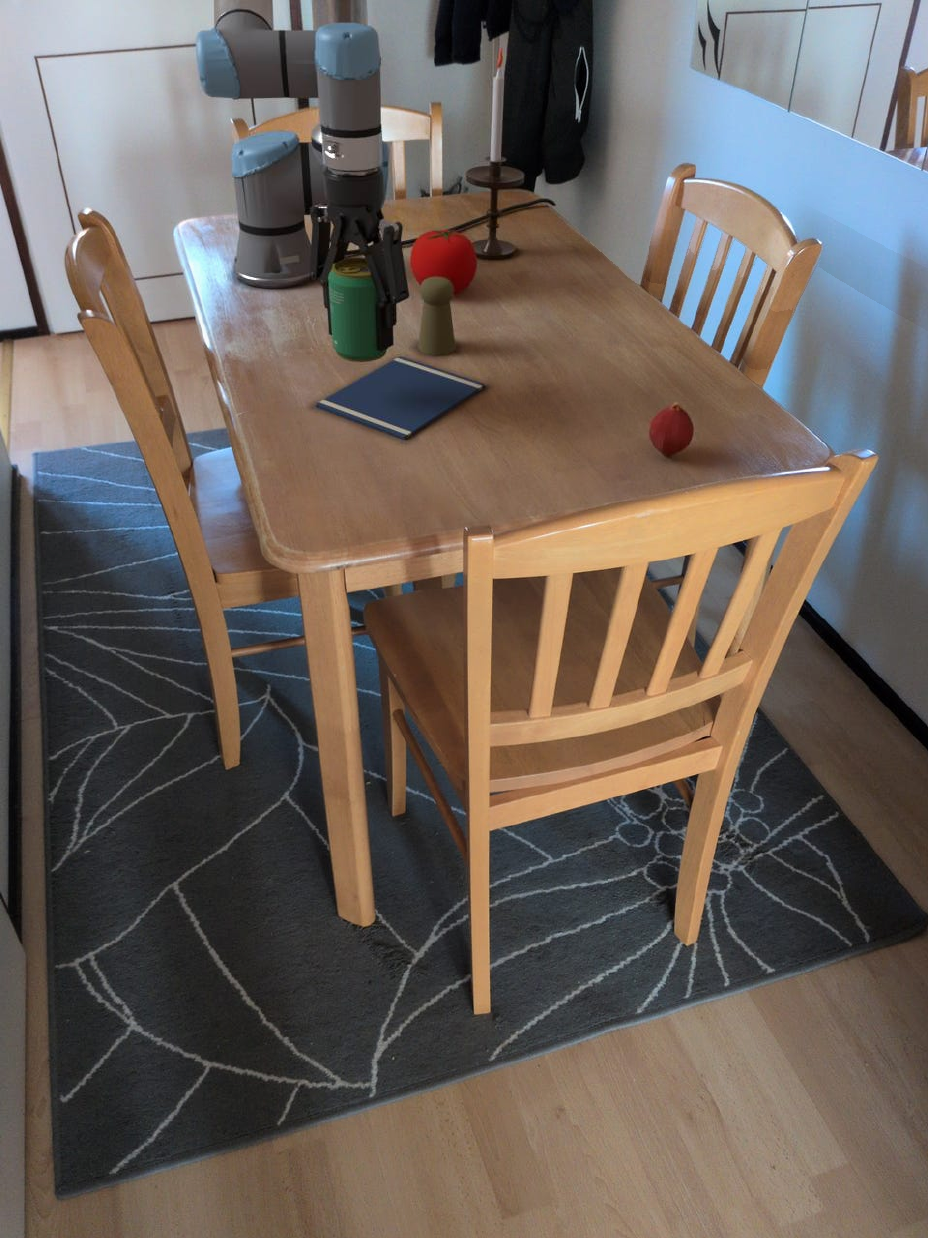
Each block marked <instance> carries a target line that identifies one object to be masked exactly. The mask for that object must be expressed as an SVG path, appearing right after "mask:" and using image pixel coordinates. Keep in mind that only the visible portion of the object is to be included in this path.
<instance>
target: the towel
mask: <svg viewBox="0 0 928 1238" xmlns="http://www.w3.org/2000/svg"><path fill="white" fill-rule="evenodd" d="M485 387H486V384H485V383H482V382H479V381H477V380H473V379H470V378H468V377H464V376H461V375H459V374H455V373H453V372H449V371H447V370H443V369H441V368H437V367H434V366H431V365H428V364H425V363H422V362H419V361H416V360H413V359H410V358H407V357H404V356H401V355H400V356H398V357H396V358H394V359H392V360H390V361H389V362H387V363H386V364H384V365H382V366H381V367H379V368H377V369H374V371H372V372H370V373H368V374H366V375H364V376H363V377H361V378H359V379H357V380H356V381H353V382H352V383H350V384H348V385H346V386H345V387H343V388H342V389H339V390H338V391H336V392H334V393H332V394H331V395H329V396H327V397H326V398H323V399H322V400H320V401H318V402H317V403H315V408H318V409H320V410H323V411H325V412H327V413H331V414H334V415H336V416H339V417H342V418H344V419H347V420H349V421H353V422H355V423H358V424H360V425H363V426H366V427H368V428H370V429H374V430H376V431H379V432H382V433H385V434H387V435H390V436H392V437H395V438H398V439H399V440H403V441H405V440H407V439H408V438H410V437H411V436H413V435H414V434H416V433H417V432H419V431H420V430H422V429H423V428H425V427H426V426H428V425H430V424H431V423H432V422H434V421H435V420H438V419H439V418H440V417H441V416H443V415H445V414H446V413H447V412H449V411H450V410H452V409H454V408H455V407H457V406H459V405H460V404H462V403H463V402H464V401H466V400H467V399H469V398H470V397H472V396H474V395H475V394H477V393H478V392H480V391H481V390H483V389H484V388H485Z"/></svg>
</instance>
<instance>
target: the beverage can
mask: <svg viewBox="0 0 928 1238" xmlns="http://www.w3.org/2000/svg"><path fill="white" fill-rule="evenodd" d="M328 281H329V297H330V312H331V327H332V335H331V342H332V348H333V349H334V350H335V352H336V355H337V356H338V357H339V358H341V359H343V360H345V361H349V362H353V363H354V362H356V363H366V362H368V363H369V362H373V361H377V360H379V359H381V358H383V357H384V356H386V354H387V350H389V348H387V349H385V350H383V351H382V352H381V351H378V350H377V330H376V304H377V303H379V302H380V299H379V296H378V293H377V290H376V287H375V284H374V282H373V279H372V276H371V273H370V270H369V267H368V264H367V261H366V259H365V257H347V258H346V257H345V259H342V260H340V261H338V262H335V263H334V264H333V265H332V270H331V271H330V273H329V275H328ZM387 294H388V292H387Z"/></svg>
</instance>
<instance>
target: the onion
mask: <svg viewBox="0 0 928 1238" xmlns="http://www.w3.org/2000/svg"><path fill="white" fill-rule="evenodd" d="M648 429H649V430H648V438H649V439H650V443H651V445H652V446H653V448H655V449H656V450H657V451H658V452H660V453H661V455H662V456H663V457H666V458H670V457H673V456H674V455H676V454H678V453H680V452H682V451H684V450H685V449H687V448H688V446H689V445H690V444H691V442H692V440H693V437H694V431H695V427H694V423H693V420H692V419H691V416H690V415H689V413H688V412H687V411H686V410H684V409H683V408H682V407H681V404H680V403H679V402H676V401H675V402H674V403H672V405H670V406H667V407H665V408H662V409H661V410H660V411H659V412H658V413H657V414H656V415H655V416H654V417H653V418H652V420H651V422H650V426H649V428H648Z"/></svg>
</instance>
